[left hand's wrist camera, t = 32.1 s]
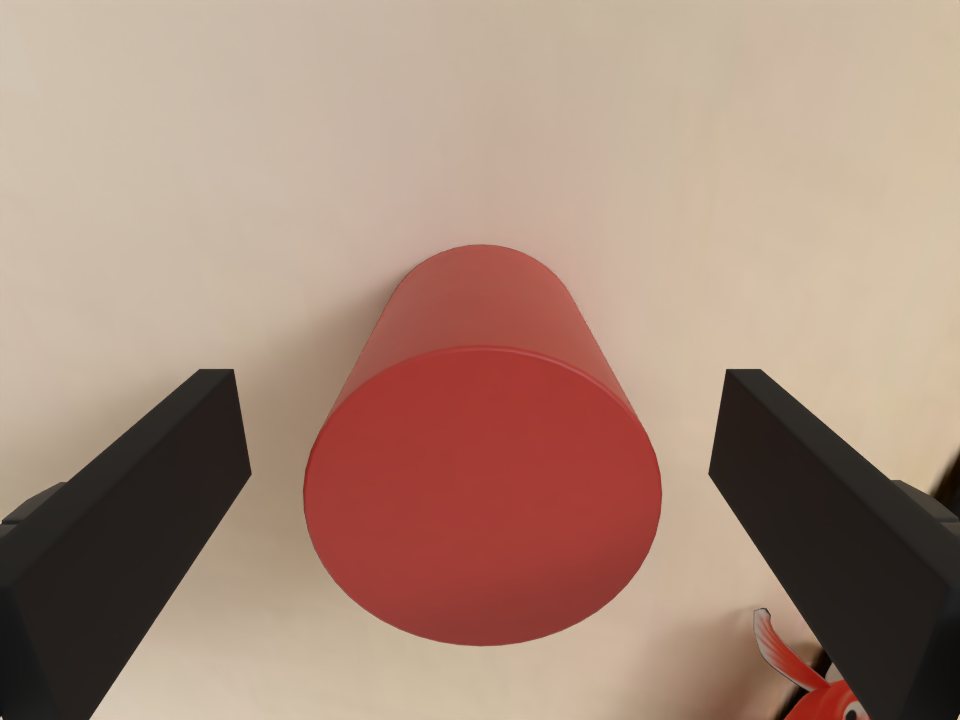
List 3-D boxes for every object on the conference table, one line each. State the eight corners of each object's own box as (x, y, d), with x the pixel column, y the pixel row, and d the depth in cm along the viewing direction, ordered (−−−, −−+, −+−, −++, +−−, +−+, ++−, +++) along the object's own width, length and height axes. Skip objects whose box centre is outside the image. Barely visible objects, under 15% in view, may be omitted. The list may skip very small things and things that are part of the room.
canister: (462, 199, 16) (447, 265, 8) (623, 329, 18) (739, 488, 10) (341, 360, 18) (234, 538, 10) (496, 466, 20) (508, 694, 12)
